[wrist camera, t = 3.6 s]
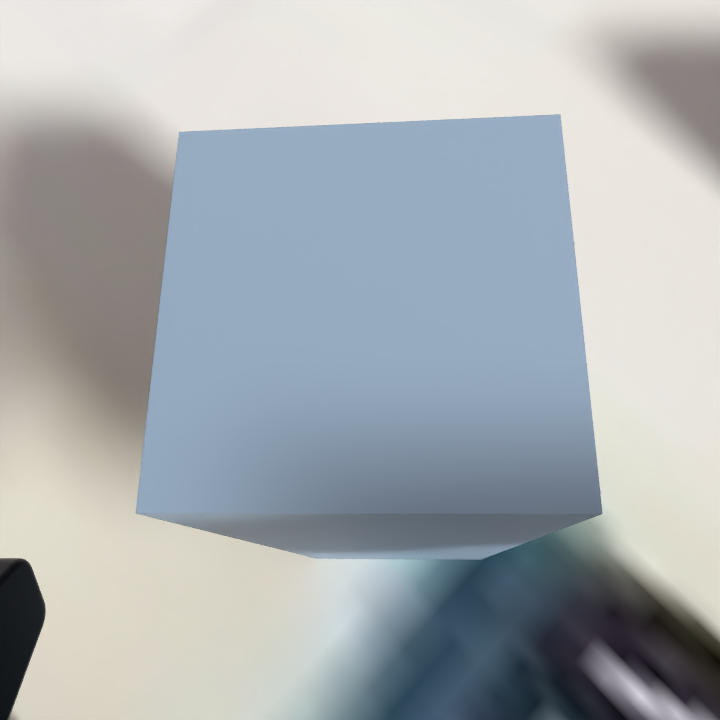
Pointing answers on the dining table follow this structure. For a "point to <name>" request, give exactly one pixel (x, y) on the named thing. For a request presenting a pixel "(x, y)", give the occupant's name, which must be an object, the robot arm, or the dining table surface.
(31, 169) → the dining table surface
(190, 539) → the dining table surface
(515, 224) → the large blue square block
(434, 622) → the dining table surface
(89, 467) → the dining table surface
